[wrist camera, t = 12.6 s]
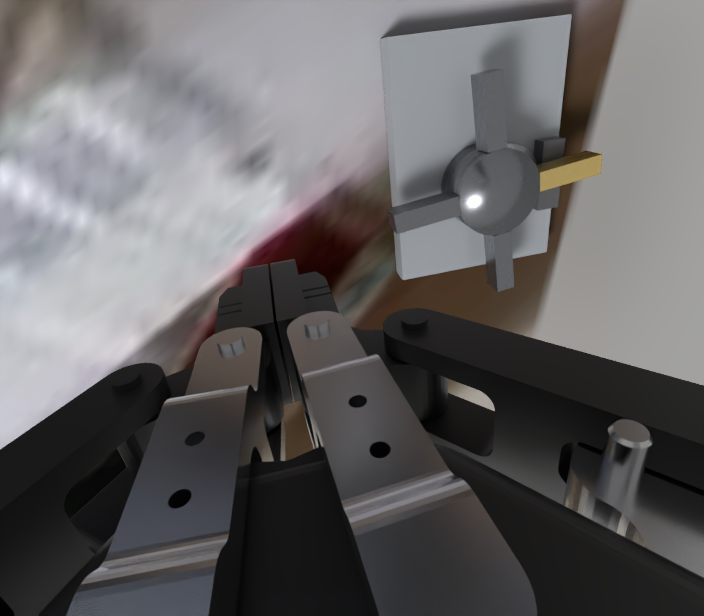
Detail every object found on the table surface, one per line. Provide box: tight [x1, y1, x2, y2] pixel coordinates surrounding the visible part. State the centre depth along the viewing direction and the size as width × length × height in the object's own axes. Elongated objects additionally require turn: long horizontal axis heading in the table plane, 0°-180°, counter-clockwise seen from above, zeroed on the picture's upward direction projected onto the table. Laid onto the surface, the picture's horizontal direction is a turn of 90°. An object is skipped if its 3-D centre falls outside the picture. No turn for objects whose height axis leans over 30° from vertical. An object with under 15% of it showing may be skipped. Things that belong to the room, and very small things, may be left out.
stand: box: [380, 14, 572, 280], centre depth 39 cm, size 20×15×3 cm
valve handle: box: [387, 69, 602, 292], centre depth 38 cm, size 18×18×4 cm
